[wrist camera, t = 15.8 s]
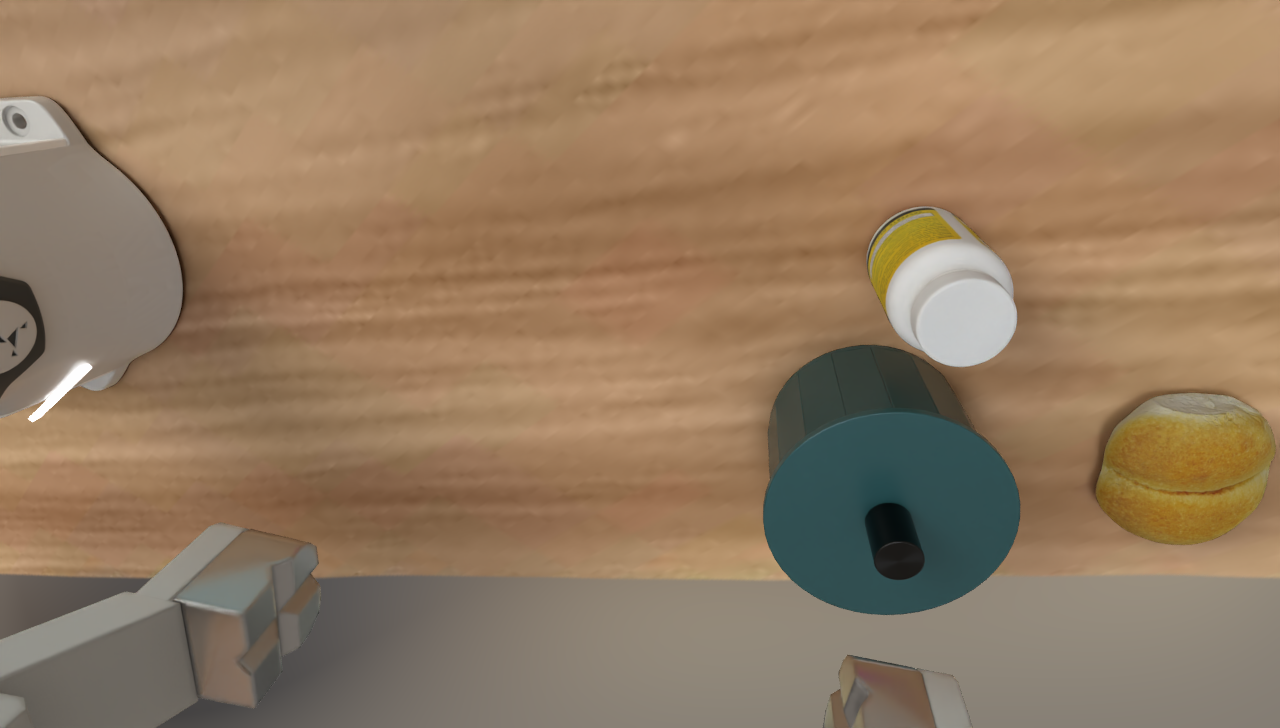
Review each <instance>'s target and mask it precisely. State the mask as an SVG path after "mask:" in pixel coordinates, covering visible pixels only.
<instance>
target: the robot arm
mask: <svg viewBox="0 0 1280 728" xmlns="http://www.w3.org/2000/svg"><path fill="white" fill-rule="evenodd" d="M24 118H25V120H26V122H27V123H26V122H25V120H24ZM182 298H183V282H182V274H181V268H180V264H179V260H178V256H177V253H176V250H175V247H174V245H173V242H172V240H171V237H170V235H169V233H168V231H167V229H166V227H165V225H164V224H163V222H162V220H161V218H160V217H159V215H158V214H157V212H156V211H155V209H154V208H153V206H152V205H151V204H150V202H149V201H148V200H147V198H146V197H145V196H144V195H143V194H142V192H141V191H140V190H139V189H138V188H137V187H136V186H135V185H134V184H133V183H132V182H131V181H130V180H129V179H128V178H127V177H126V176H125V175H124V174H123V173H122V172H120V171H119V170H118V169H117V168H116V167H114V166H113V165H112V164H111V163H109V162H108V161H107V160H106V159H104V158H103V157H102V156H101V155H99V154H98V153H97V152H96V151H95V150H94V149H93V148H92V147H91V146H90V145H89V144H88V143H87V141H86V140H85V139H84V137H83V136H82V134H81V133H80V131H79V130H78V129H77V127H76V126H75V124H74V123H73V121H72V120H71V119H70V118H69V116H68V115H67V114H66V113H65V111H64V110H63V109H62V108H61V107H60V106H59V105H58V104H57V103H56V102H54V101H53V100H51V99H49V98H47V97H44V96H28V97H10V98H0V418H3V417H6V416H9V415H11V414H14V413H16V412H19V411H21V410H24V409H26V408H28V407H31V406H33V405H36V404H38V403H40V402H43V401H45V400H47V401H46V402H45V403H44V404H43V405H41V406H40V407H39V408H38V409H37V410H36V411H35V412H34V413H33V414H32V415H31V416H30V417H29V418H28V419H30V420H31V421H32V422H33V421H35V420H37V419H38V418H40V417H42V416H43V415H44V414H45V413H46V412H47V411H48V410H49V409H50V408H51V407H52V406H53V405H54V404H55V403H56V402H57V401H58V400H59V399H60V398H61V397H62V396H63V395H64V394H65V393H67V392H68V391H69V390H71V389H74V388H76V387H78V386H81V387H84V388H86V389H89V390H93V391H100V390H103V389H106V388H108V387H111V386H113V385H115V384H116V383H117V382H118V381H119V380H120V378H121V377H122V376H123V374H124V372H125V370H126V369H127V367H128V365H129V363H130V362H131V361H133V360H134V359H136V358H137V357H139V356H141V355H143V354H145V353H147V352H149V351H151V350H153V349H155V348H156V347H157V346H159V345H160V344H161V343H162V342H163V341H164V340H165V339H166V338H167V337H168V336H169V335H170V333H171V332H172V330H173V328H174V327H175V325H176V322H177V320H178V318H179V314H180V311H181V306H182ZM318 564H319V562H318V554H317V547H316V546H315V545H313V544H311V543H309V542H304V541H300V540H296V539H292V538H288V537H283V536H279V535H275V534H271V533H266V532H262V531H258V530H254V529H246V528H242V527H238V526H234V525H230V524H225V523H221V522H220V523H217V524H215V525H212V526H210V527H208V528H207V529H206V530H205V531H204V532H203V533H202V534H200V535H199V536H198V537H197V538H196V539H195V540H194V541H193V542H192V543H190V544H189V545H188V546H187V547H186V548H185V549H184V550H183V551H182V552H181V553H179V554H178V555H177V556H176V557H175V558H174V559H173V560H172V561H171V562H170V563H168V564H167V565H166V566H165V567H164V568H163V569H162V570H161V571H160V572H159V573H157V574H156V575H155V576H154V577H153V578H152V579H151V580H150V581H149V582H148V583H146V584H145V585H144V586H143V587H142V588H141V589H140V590H139V591H138V592H137V593H130V592H123V593H121V594H118V595H116V596H113V597H111V598H108V599H105V600H103V601H100V602H98V603H95V604H92V605H90V606H87V607H84V608H82V609H79V610H77V611H74V612H71V613H69V614H66V615H64V616H61V617H59V618H56V619H53V620H51V621H48V622H46V623H43V624H40V625H38V626H36V627H32V628H30V629H27V630H25V631H22V632H20V633H17V634H14V635H12V636H9V637H7V638H4V639H2V640H0V728H156V727H157V726H159V725H161V724H162V723H164V722H165V721H167V720H168V719H170V718H172V717H173V716H175V715H177V714H178V713H180V712H181V711H183V710H184V709H186V708H187V707H189V706H191V705H192V704H194V703H195V702H197V701H198V698H203V699H208V700H213V701H219V702H224V703H229V704H234V705H239V706H244V707H250V708H256V707H257V705H258V704H259V702H260V701H261V700H262V698H263V697H264V696H265V694H266V693H267V692H268V690H269V689H270V687H271V686H272V685H273V684H274V682H275V681H276V679H277V678H278V677H279V675H280V674H281V673H282V661H281V657H283V656H285V655H287V654H289V653H290V652H292V651H294V650H296V649H298V648H300V647H301V645H302V644H303V642H304V641H305V639H306V638H307V637H308V635H309V634H310V632H311V630H312V628H313V625H314V623H315V620H316V618H317V615H318V613H319V607H320V601H321V593H320V592H321V591H320V585H319V584H318V582H317V581H316V580H315V578H314V577H313V576H312V575H311V572H312V571H313V570H314V569H315V567H316V566H317V565H318ZM839 681H840V689H839V690H838V691H836V692H834V693H833V694H831V695H830V698H829V702H828V705H827V708H826V711H825V718H824V725H823V728H973V726H972V723H971V720H970V717H969V714H968V711H967V708H966V705H965V702H964V699H963V696H962V693H961V690H960V687H959V684H958V681H957V680H956V679H955V678H954V676H953V675H949V674H944V673H939V672H934V671H928V670H923V669H915V668H912V667H907V666H902V665H897V664H892V663H887V662H882V661H877V660H872V659H867V658H862V657H857V656H852V655H847V657H846V658H845V659H844V660H843V662H842V665H841V668H840V670H839Z"/></svg>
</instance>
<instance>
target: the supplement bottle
mask: <svg viewBox="0 0 1280 728" xmlns="http://www.w3.org/2000/svg"><path fill="white" fill-rule="evenodd" d="M867 270H868V275H869V278H870V280H871V283H872V285H873V287H874V289H875V291H876V293H877V296H878V298H879V300H880V302H881V304H882V306H883V308H884V310H885V313H886V315H887V317H888V319H889V321H890V323H891V325H892V326H893V328H894V329H895V331H896V332H897V334H898V335H899V336H900V337H901V338H902V339H903V340H904V341H905V342H907V343H908V344H909V345H911V346H913V347H914V348H916V349H919V350H921V351H924V352H925V353H926V354H927V355H928V356H929V357H931V358H932V359H934V360H935V361H937V362H939V363H942V364H945V365H948V366H953V367H967V366H973V365H977V364H980V363H983V362H985V361H987V360H989V359H991V358H993V357H994V356H996V355H997V354H998V353H999V352H1001V351H1002V350H1003V349H1004V348H1005V347H1006V346H1007V344H1008V343H1009V341H1010V340H1011V338H1012V336H1013V334H1014V332H1015V329H1016V325H1017V310H1016V306H1015V303H1014V301H1013V282H1012V278H1011V275H1010V273H1009V271H1008V269H1007V267H1006V265H1005V264H1004V262H1003V261H1002V260H1001V259H1000V257H999V256H998V255H997V254H996V253H995V252H994V251H992V250H991V249H990V248H989V247H988V246H987V245H986V244H985V243H984V242H983V241H982V240H981V239H980V238H979V237H978V236H977V235H976V234H975V233H974V232H973V231H972V230H971V229H970V228H969V227H968V226H967V225H966V224H965V223H964V222H963V221H962V220H960V219H959V218H958V217H956V216H955V215H954V214H952V213H950V212H948V211H946V210H944V209H940V208H936V207H927V206H923V207H914V208H910V209H907V210H904V211H901V212H899V213H897V214H895V215H894V216H892V217H891V218H889V219H888V220H887V221H886V222H885V223H884V224H883V225H882V226H881V227H880V228H879V229H878V230H877V231H876V233H875V234H874V236H873V238H872V240H871V242H870V245H869V248H868V252H867Z"/></svg>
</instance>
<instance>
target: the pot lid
mask: <svg viewBox="0 0 1280 728" xmlns="http://www.w3.org/2000/svg"><path fill="white" fill-rule="evenodd" d="M1019 521H1020V499H1019V492H1018V488H1017V485H1016V482H1015V479H1014V477H1013V475H1012V473H1011V471H1010V469H1009V467H1008V465H1007V464H1006V462H1005V460H1004V459H1003V458H1002V456H1001V455H1000V454H999V452H998V451H997V450H996V448H995V447H994V446H992V445H991V444H990V443H989V442H988V441H987V440H986V439H985V438H984V437H983V436H981V435H980V434H979V433H977V432H976V431H974V430H973V429H972V428H970V427H968V426H966V425H964V424H962V423H960V422H959V421H957V420H954V419H951V418H949V417H946V416H943V415H941V414H937V413H933V412H929V411H925V410H918V409H910V408H881V409H871V410H866V411H861V412H856V413H852V414H849V415H846V416H843V417H840V418H837V419H835V420H833V421H831V422H829V423H826V424H824V425H822V426H820V427H819V428H817V429H816V430H814V431H812V432H811V433H809V434H808V435H806V436H805V437H804V438H803V439H801V440H800V441H799V442H798V443H796V444H795V445H794V446H793V447H792V448H791V449H790V450H789V451H788V453H787V454H786V455H785V456H784V457H783V459H782V460H781V461H780V463H779V464H778V465H777V467H776V469H775V471H774V473H773V475H772V476H771V478H770V481H769V484H768V487H767V489H766V493H765V498H764V504H763V523H764V530H765V536H766V539H767V542H768V545H769V548H770V550H771V552H772V554H773V556H774V558H775V560H776V561H777V563H778V564H779V566H780V567H781V568H782V570H783V571H784V572H785V573H786V574H787V575H788V576H789V577H790V579H791V580H792V581H794V582H795V583H796V584H797V585H798V586H800V587H801V588H802V589H803V590H805V591H807V592H808V593H810V594H811V595H813V596H814V597H816V598H818V599H820V600H822V601H824V602H826V603H829V604H831V605H834V606H837V607H839V608H843V609H847V610H851V611H854V612H860V613H867V614H878V615H879V614H880V615H895V614H907V613H914V612H920V611H924V610H928V609H932V608H935V607H938V606H941V605H944V604H947V603H949V602H951V601H953V600H955V599H958V598H960V597H962V596H963V595H965V594H966V593H968V592H970V591H972V590H973V589H975V588H976V587H977V586H979V585H980V584H981V583H982V582H984V581H985V580H986V579H987V578H988V577H989V576H990V575H991V574H992V573H993V572H994V571H995V570H996V569H997V568H998V567H999V565H1000V564H1001V563H1002V562H1003V560H1004V559H1005V558H1006V556H1007V554H1008V552H1009V550H1010V549H1011V547H1012V545H1013V542H1014V540H1015V537H1016V534H1017V531H1018V526H1019Z"/></svg>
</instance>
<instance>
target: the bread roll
mask: <svg viewBox="0 0 1280 728" xmlns="http://www.w3.org/2000/svg"><path fill="white" fill-rule="evenodd" d="M1275 451H1276V445H1275V441H1274V437H1273V433H1272V430H1271V428H1270V426H1269V424H1268V422H1267V420H1266V419H1265V418H1263V417H1262V415H1261V414H1260V413H1259V412H1258V411H1257V410H1256V409H1254V408H1252V407H1250V406H1248V405H1247V404H1245V403H1243V402H1241V401H1239V400H1237V399H1235V398H1233V397H1229V396H1226V395H1212V394H1201V393H1179V394H1169V395H1162V396H1157V397H1154V398H1151V399H1149V400H1147V401H1146V402H1144V403H1143V404H1141V405H1140V406H1139V407H1137V408H1136V409H1135V410H1134V411H1133V412H1132V413H1130V414H1129V415H1128V416H1127V417H1126V418H1124V419H1123V420H1122V421H1121V422H1120V423H1119V424H1118V425H1117V426H1116V427H1115V428H1114V430H1113V431H1112V433H1111V436H1110V438H1109V440H1108V443H1107V445H1106V447H1105V452H1104V460H1103V464H1102V470H1101V472H1100V475H1099V478H1098V481H1097V485H1096V498H1097V501H1098V503H1099V505H1100V506H1101V508H1102V509H1103V511H1104V512H1105V513H1106V514H1107V515H1108V516H1109V517H1110V518H1111V519H1112V520H1113V521H1114V522H1116V523H1117V524H1118V525H1119V526H1121V527H1122V528H1124V529H1125V530H1127V531H1128V532H1131V533H1133V534H1135V535H1137V536H1140V537H1142V538H1145V539H1148V540H1151V541H1154V542H1158V543H1164V544H1172V545H1191V544H1198V543H1202V542H1206V541H1210V540H1213V539H1215V538H1218V537H1220V536H1222V535H1224V534H1225V533H1227V532H1228V531H1230V530H1232V529H1233V528H1234V527H1236V526H1237V525H1238V524H1239V523H1240V522H1242V521H1243V520H1244V519H1246V518H1247V517H1248V516H1249V515H1250V514H1251V513H1252V512H1253V511H1254V510H1255V509H1256V508H1257V506H1258V504H1259V503H1260V501H1261V499H1262V497H1263V495H1264V491H1265V488H1266V485H1267V479H1268V473H1269V467H1270V462H1271V461H1272V459H1273V458H1274V454H1275Z"/></svg>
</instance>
